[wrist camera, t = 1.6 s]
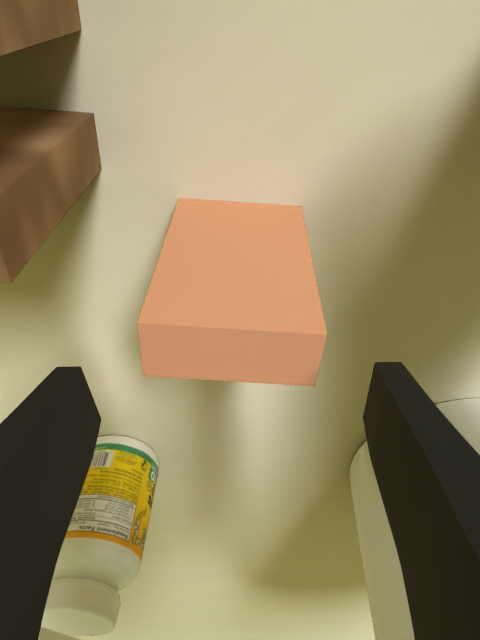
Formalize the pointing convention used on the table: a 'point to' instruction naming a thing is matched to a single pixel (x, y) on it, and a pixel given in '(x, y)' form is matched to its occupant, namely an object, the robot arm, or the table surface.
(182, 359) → the domino
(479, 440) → the utensil holder
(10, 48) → the domino
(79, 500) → the supplement bottle
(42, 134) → the domino
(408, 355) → the table surface
